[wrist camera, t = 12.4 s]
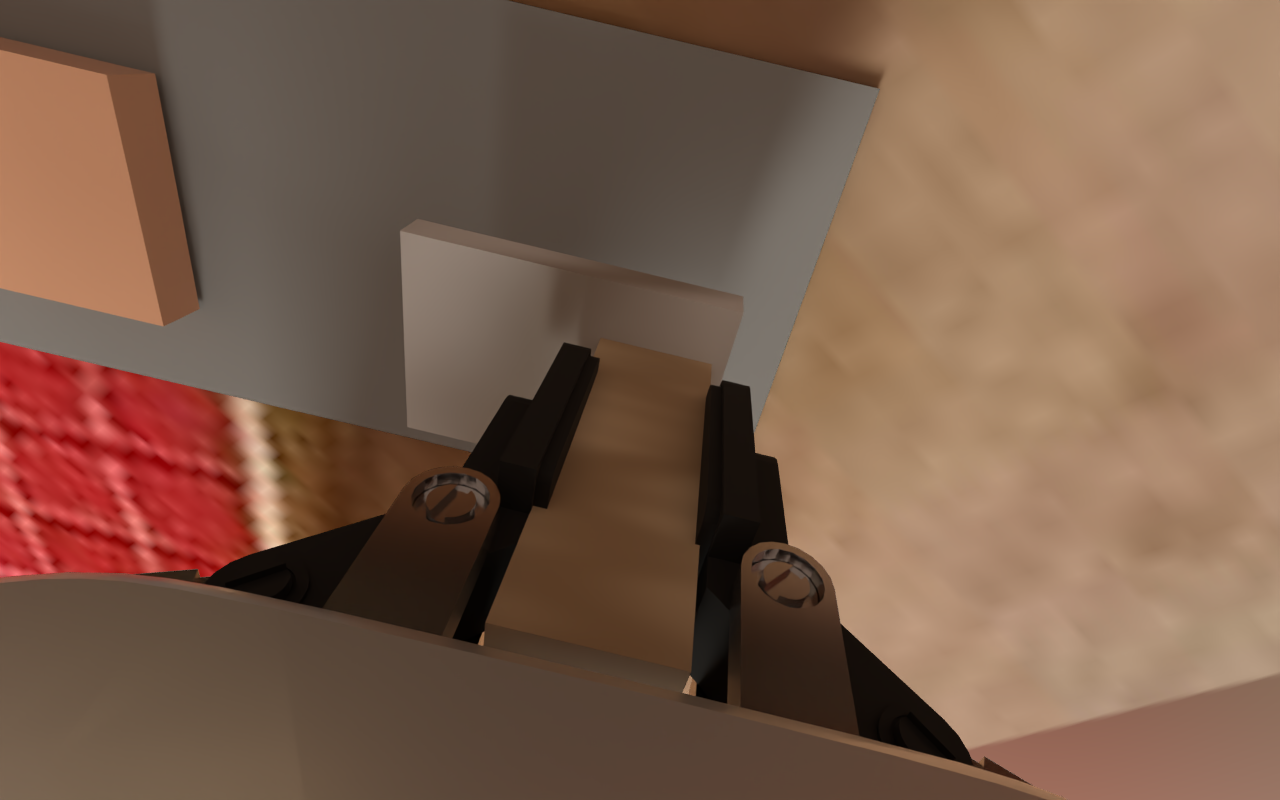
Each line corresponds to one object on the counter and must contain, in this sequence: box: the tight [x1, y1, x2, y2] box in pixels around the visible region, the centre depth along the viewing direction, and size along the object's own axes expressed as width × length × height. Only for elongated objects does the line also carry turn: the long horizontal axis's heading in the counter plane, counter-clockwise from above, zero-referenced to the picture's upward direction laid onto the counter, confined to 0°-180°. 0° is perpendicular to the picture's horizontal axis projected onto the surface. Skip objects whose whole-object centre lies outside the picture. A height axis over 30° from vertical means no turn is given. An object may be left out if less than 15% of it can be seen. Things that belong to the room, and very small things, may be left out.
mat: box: [0, 0, 880, 452], centre depth 18 cm, size 28×14×1 cm, turn 78°
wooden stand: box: [400, 219, 744, 693], centre depth 11 cm, size 7×5×8 cm
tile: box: [0, 37, 200, 326], centre depth 17 cm, size 2×7×8 cm
